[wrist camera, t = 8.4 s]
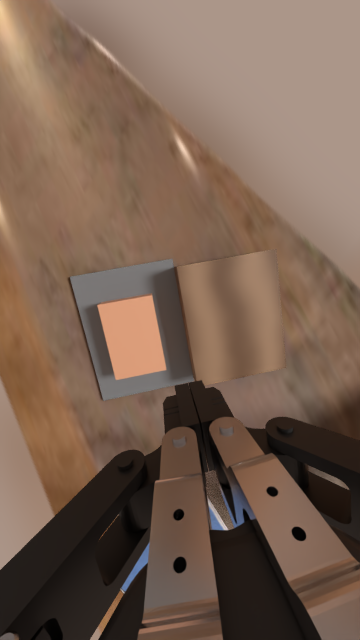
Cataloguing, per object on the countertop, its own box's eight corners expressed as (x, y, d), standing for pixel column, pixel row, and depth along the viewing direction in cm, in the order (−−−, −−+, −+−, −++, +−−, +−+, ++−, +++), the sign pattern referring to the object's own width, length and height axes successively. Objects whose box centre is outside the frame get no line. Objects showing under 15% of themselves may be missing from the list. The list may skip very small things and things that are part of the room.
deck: (260, 251, 30) (276, 248, 26) (270, 356, 33) (286, 367, 29) (173, 267, 29) (176, 266, 25) (192, 372, 32) (197, 387, 28)
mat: (171, 259, 29) (172, 258, 28) (193, 379, 32) (193, 381, 32) (70, 276, 28) (69, 276, 27) (104, 399, 31) (103, 400, 31)
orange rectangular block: (97, 305, 26) (102, 302, 28) (115, 380, 28) (118, 371, 30) (151, 295, 26) (151, 293, 29) (166, 369, 28) (165, 362, 31)
